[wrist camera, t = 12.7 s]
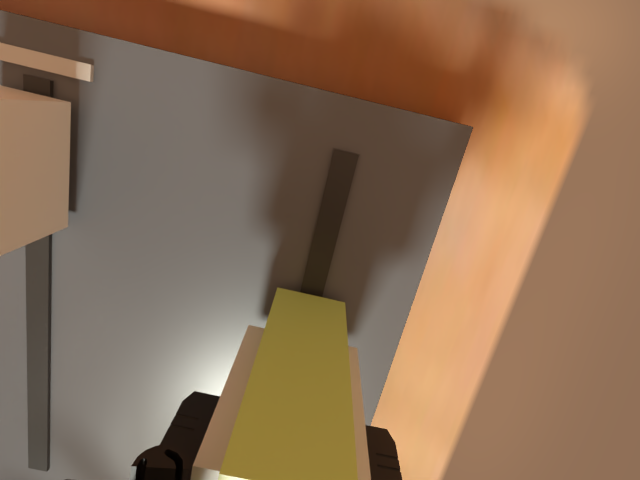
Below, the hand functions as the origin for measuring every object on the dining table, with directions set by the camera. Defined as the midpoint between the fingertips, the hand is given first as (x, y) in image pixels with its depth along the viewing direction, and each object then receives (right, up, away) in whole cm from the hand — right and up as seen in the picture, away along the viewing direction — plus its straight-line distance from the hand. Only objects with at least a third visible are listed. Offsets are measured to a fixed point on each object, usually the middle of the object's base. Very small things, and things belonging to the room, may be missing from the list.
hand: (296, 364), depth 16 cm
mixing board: (-6, +1, +4) cm, 7 cm away
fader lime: (0, +1, +1) cm, 2 cm away
